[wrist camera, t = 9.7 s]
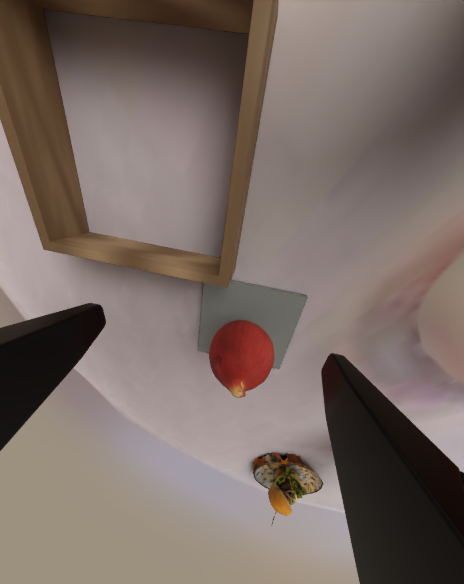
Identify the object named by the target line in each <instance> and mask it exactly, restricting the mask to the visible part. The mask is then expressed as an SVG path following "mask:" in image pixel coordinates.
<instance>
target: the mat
mask: <svg viewBox="0 0 464 584" xmlns="http://www.w3.org/2000/svg"><path fill="white" fill-rule="evenodd" d="M306 300H307V296H306V295H303V294H298V293H293V292H288V291H283V290H278V289H274V288H269V287H264V286H259V285H254V284H249V283H244V282H239V281H234V280H230V283H229V285H228V288H227V287H222V286H217V285H213V284H208V283H204V284H203V295H202V307H201V319H200V330H199V342H198V351H203V352H207V353H209V349H210V345H211V342H212V340H213V337H214V335H215V334H216V332H217V331H218V330H219V329H220V328H221V327H223V326H224V325H225V324H227V323H229V322H231V321H235V320H248V321H250V322H253V323H255V324H257V325H259V326H260V327H261V328H262V329H263V330H264V331H265V332H266V333H267V334H268V335H269V337H270V339H271V341H272V342H273V347H274V364H273V367H272V368H276V369H279V368H280V366H281V363H282V361H283V358H284V355H285V353H286V350H287V348H288V345H289V343H290V340H291V338H292V335H293V333H294V330H295V328H296V325H297V323H298V320H299V317H300V315H301V312H302V310H303V307H304V305H305V302H306Z"/></svg>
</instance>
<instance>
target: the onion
mask: <svg viewBox="0 0 464 584" xmlns="http://www.w3.org/2000/svg"><path fill="white" fill-rule="evenodd" d="M209 359H210V364H211V368H212V371H213V373H214V375H215V377H216V378H217V379H218V380H219V381H220V382H221V384H222V385H223V386H225V387H226V388H227V389H228V390H229V391H230V392H231V393H232V395H233V396H235V397H237V398H241V397H245V391H248V390H251V389H254V388H255V387H257V386H258V385H260V384H261V383H263V382H264V381H265V380H266V378H267V377H268V375H269V373H270V371H271V369H272V367H273V364H274V347H273V342H272V341H271V339H270V337H269V335H268V334H267V333H266V332H265V331H264V330H263V329H262V328H261V327H260V326H259V325H257V324H255V323H253V322H250V321H248V320H235V321H231V322H229V323H227V324H225V325H224V326H223V327H221V328H220V329H219V330H218V331H217V332H216V334H215V335H214V337H213V340H212V342H211V345H210V349H209Z"/></svg>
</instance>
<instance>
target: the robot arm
mask: <svg viewBox="0 0 464 584" xmlns="http://www.w3.org/2000/svg"><path fill="white" fill-rule="evenodd" d="M105 324H106V319H105V315H104V312H103V308H102V306H101V305H98V304H93V303H88V304H84V305H81V306H77V307H74V308H70V309H66V310H63V311H59V312H56V313H52V314H48V315H45V316H41V317H38V318H34V319H31V320H27V321H23V322H20V323H16V324H13V325H9V326H5V327H2V328H0V451H1V450H2V449H3V448H4V446H5V445H6V444H7V443H8V442H9V441H10V440H11V438H12V437H13V436H14V435H15V434H16V432H18V430H19V429H20V428H21V427H22V426H23V425H24V424H25V422H26V421H27V420H28V419H29V418H30V417H31V415H32V414H33V413H34V412H35V411H36V410H37V409H38V408H39V406H40V405H41V404H42V403H43V402H44V401H45V400H46V398H47V397H48V396H49V395H50V394H51V393H52V392H53V390H54V389H55V388H56V387H57V386H58V385H59V384H60V382H61V381H62V380H63V379H64V378H65V377H66V376H67V374H68V373H69V372H70V371H71V370H72V369H73V368H74V366H75V365H76V364H77V363H78V362H79V361H80V359H81V358H82V357H83V355H84V354H85V353H86V351H87V350H88V349H89V347H90V346H91V345H92V343H93V342H94V340H95V339H96V338H97V336H98V335H99V334H100V332H101V331H102V329H103V328H104V327H105ZM321 374H322V385H323V395H324V405H325V414H326V421H327V426H328V431H329V436H330V441H331V446H332V451H333V455H334V460H335V465H336V470H337V475H338V480H339V485H340V489H341V494H342V499H343V504H344V509H345V514H346V519H347V524H348V528H349V533H350V538H351V543H352V548H353V553H354V558H355V562H356V567H357V572H358V577H359V582H360V584H464V473H463V472H461V471H460V470H459V468H458V467H457V466H456V465H455V464H454V463H453V462H452V461H451V460H450V459H449V458H448V457H447V456H446V455H445V454H444V453H443V452H442V451H441V450H440V449H439V448H438V447H437V446H436V445H435V444H433V443H432V442H431V441H430V440H429V439H428V438H427V437H426V436H425V435H424V434H423V433H422V432H421V431H420V430H419V429H418V428H417V427H416V426H415V425H414V424H413V423H412V422H411V421H410V420H409V419H408V418H407V417H406V416H405V415H404V414H403V413H402V412H401V411H400V410H399V409H398V408H397V407H396V406H395V405H394V404H393V403H392V402H390V401H389V400H388V399H387V398H386V397H385V396H384V395H383V394H382V393H381V392H380V391H379V390H378V389H377V388H376V387H375V386H374V385H373V384H372V383H371V382H370V381H369V380H368V379H367V378H366V377H365V376H364V375H363V374H362V373H361V372H360V371H359V370H358V369H357V368H356V367H355V366H354V365H353V364H352V363H351V362H350V361H348V360H347V359H346V358H345V357H344V356H343V355H339V354H334V353H331V354H330V355H329V356H328V358H327V360H326V362H325V364H324V366H323V368H322V373H321Z"/></svg>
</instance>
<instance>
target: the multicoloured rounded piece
mask: <svg viewBox="0 0 464 584" xmlns="http://www.w3.org/2000/svg"><path fill="white" fill-rule="evenodd" d="M253 474H254V478H255V479H256V481H257V482H258V483H260V484H261V485H262V486H264V487H265V488H267V489H269V491H268V495H269V499H270V503H271V505H272V507H273V508H274V509H275V511H276V512H278V513H280V514H282V515H286V516H288V515H290V514H291V513H292V509H291V507H290V504H291V505H292V504H294V503H296V502H297V499H298V498H302V495H306V494H311V493H315V492H317V491H319V490H320V489H321V488H322V486H323V482H322V480H321V479H320V477H319V476H318V474H316V473H315V472H314V470H312V469H310V468H308V467H306V466H305V465H303V464H302V462H301V458H300V456H296V455H295V454H287V458H286V460H282V459H281V457H280V456H279V455H278V454H277V453H271V454H269V453H268V454H267V455H266V457H262V459H259V457H257V459H255V463H254V472H253ZM273 520H274V518H273Z"/></svg>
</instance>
